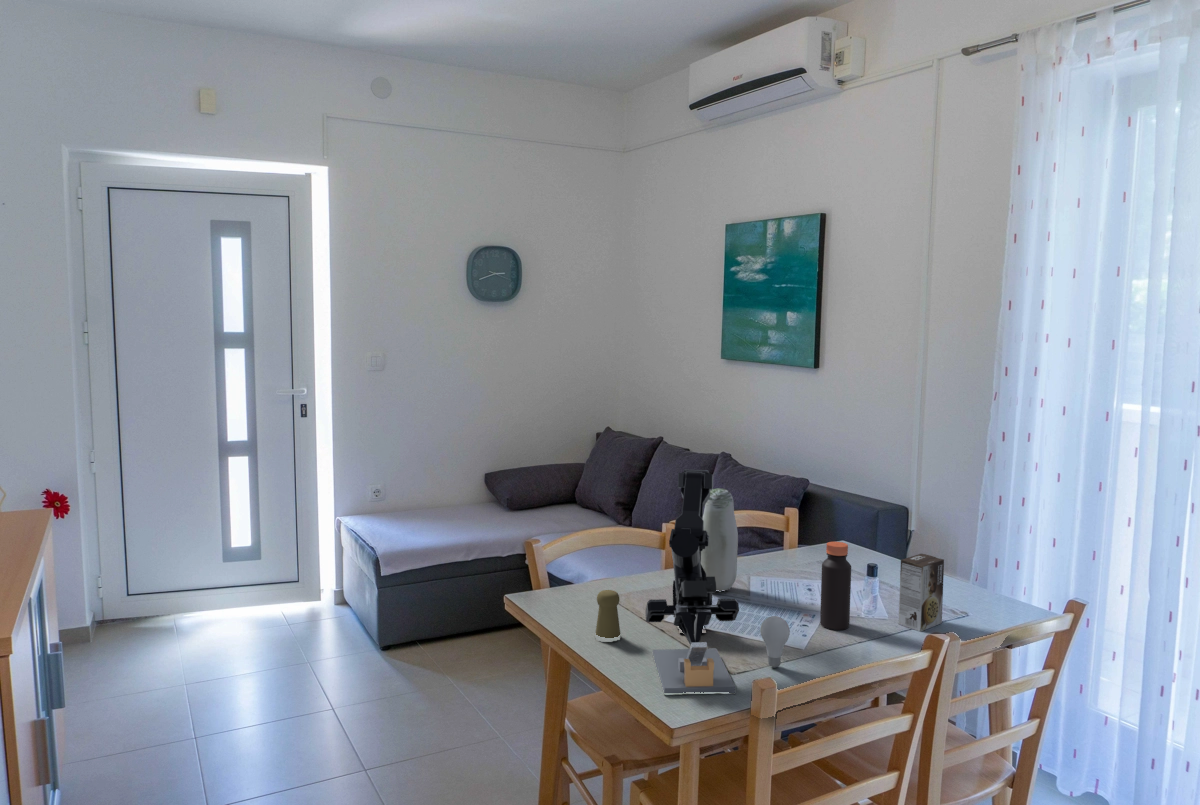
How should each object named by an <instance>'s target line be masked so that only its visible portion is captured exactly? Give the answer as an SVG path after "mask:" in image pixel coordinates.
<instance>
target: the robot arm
mask: <svg viewBox="0 0 1200 805" xmlns="http://www.w3.org/2000/svg"><path fill="white" fill-rule="evenodd" d="M677 474H678V475H677V477H678V478H677V488H678V489H680V493H681V497H682V505H681V506H682V507H681V514H680V515H679V516H678V517H677V518H675V522H674V528H671V530H670V536H669V539H668V540H669V542H668V544H669V545H668V546H669V548H670V549H671V556H672V561H673V562H672V563H673V574H674V580H673V581H672V605H670V604H669V605H668V602H667V599H663V598H662V599H661V598H660V599H649V600H648V601H647V603H646V606H645V622H646V623H662V621H664V619H665V616H673V618H674V620H673V626H675V627H676V626H679V628H680V629H681V630H682V632H683V633H684V634H683V635H684V636H685V638H686V640H687V642H688V643H689V647H690V646H691V643H694V642H701V636H702V634H701V633H702V629H703V626H704V627H705V626H708V625H709V624H710V621H711V618H712V615H715V618H716V619H717V621H719V622H733V621H736V618H737V616H738V615H739V611H740V606H739V602H738V601H737V599H736V598H718V599H717V601H716V604H713V594H714V593H717V592H716V580H715V577H706V572H705V571H704V569H703V567H702V565H701V551H702V550H703V549H705V548H706V546H708V544H709V535H708V534H707V531H706V530H704V521H703V514H704V508H705V504H706V502H707V501H708V500H709V498H710V491H711V490H712V489H714V474H712V473H710V471H709V470H706V469H705V470H704V469H684V470H683V471H682V472H678V473H677Z"/></svg>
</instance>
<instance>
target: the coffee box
mask: <svg viewBox="0 0 1200 805" xmlns="http://www.w3.org/2000/svg"><path fill="white" fill-rule="evenodd" d="M944 569H945V559H942V558H939V557H936V556H934V555H929V554H927V553H919V554H918V553H917V554H915V555H912V556H909V557H906V558H902V559H900V571H899V572H900V573H899V574H900V576H899V600H898V601H899V602H898V625H900V626H903V627H906V628H908V629H912V630H915V631H917V632H923V631H926V630H928V629H931V628H934V627H935V626H938V625H940V624H942V623H943V604H944V603H943V602H944V601H943V600H944V599H943V597H944V576H945V575H944V574H945V573H944V572H945V570H944Z"/></svg>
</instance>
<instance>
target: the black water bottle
mask: <svg viewBox="0 0 1200 805" xmlns="http://www.w3.org/2000/svg"><path fill="white" fill-rule="evenodd" d="M848 550H849V544H848V543H846V542H842V541H829V542H826V550H825V553H826V556H827V558H826V559H825V560H824V561H823V562H822V564H821V578H820V580H821V581H820V583H821V584H820V585H821V586H820V610H819V611H820V616H819V618H820V619H819V623H821V624H820V625H821V626H822V627H823V626H824V627H823V628H825V627H826V628H825V629H828V628H829V630H832V629H834V630H833V631H845V630H847V629H848V628H849V627H850V622H851V621H850V620H851V619H850V616H851V592H852V590H851V589H852V585H851V584H852V565H851V563H850V562H849V561H848V560H847V557H848V553H849V551H848Z"/></svg>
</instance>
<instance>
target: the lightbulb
mask: <svg viewBox="0 0 1200 805" xmlns="http://www.w3.org/2000/svg"><path fill="white" fill-rule="evenodd" d="M759 632H760V636H761V638H762V641H763V642H764V644H765V648H766V655H767V664H768V665H769V666H770V667H771V668H777V667H779V666H781V661H782V660H781V659H782V656H783V650H784V647H785V645H786V643H787V642H788V640H789V638H790V635H791V630H790V625H789V624H788V622H787V621H786V620H785V619H784V618H783V617H780V616H776V615H771V616H768V617H767V618H765V619H764V620H763V621H762V622H761V625H760V630H759Z"/></svg>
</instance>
